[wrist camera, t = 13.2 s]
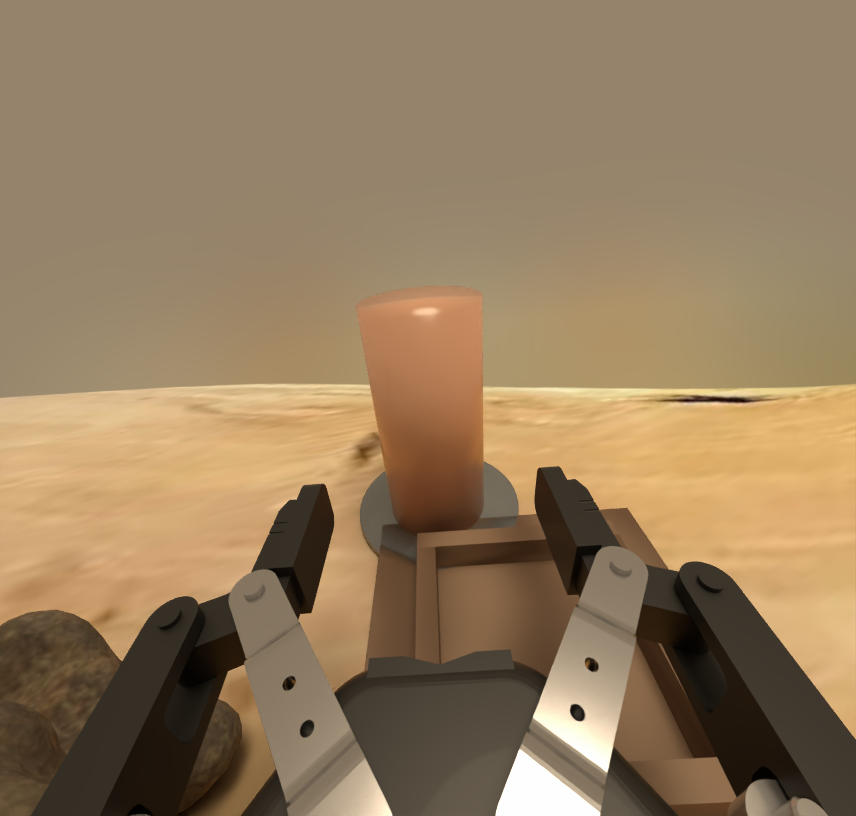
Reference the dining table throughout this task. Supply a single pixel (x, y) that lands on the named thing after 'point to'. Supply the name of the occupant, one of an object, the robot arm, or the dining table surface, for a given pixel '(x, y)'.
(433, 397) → the peach orange tall mug
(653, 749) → the holder
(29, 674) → the decorative stone
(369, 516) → the grey disc
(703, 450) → the dining table surface
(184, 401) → the dining table surface
